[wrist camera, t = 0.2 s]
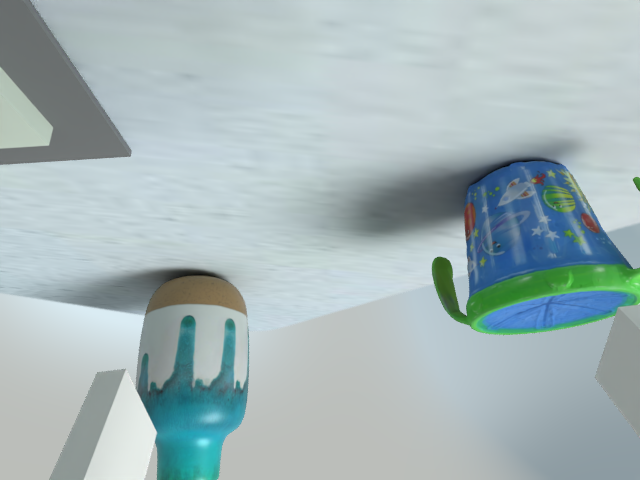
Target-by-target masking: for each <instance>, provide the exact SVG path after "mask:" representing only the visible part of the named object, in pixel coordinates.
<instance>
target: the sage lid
mask: <svg viewBox="0 0 640 480" xmlns="http://www.w3.org/2000/svg"><path fill="white" fill-rule="evenodd" d="M52 131H53V127H52V125H51V124H50V123H49V122H48V121H47V120H46V119H45V117H44V116H43V115H42V114H41V113H40V112H39V111H38V109H37V108H36V107H35V106H34V105H33V104H32V103H31V101H30V100H29V99H28V98H27V97H26V96H25V95H24V93H23V92H22V91H21V90H20V89H19V88H18V87H17V85H16V84H15V83H14V82H13V81H12V80H11V78H10V77H9V76H8V75H7V74H6V73H5V72H4V70H3V69H2V68H1V67H0V149H2V148H18V147H34V146H49V143H50V139H51V135H52Z"/></svg>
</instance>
